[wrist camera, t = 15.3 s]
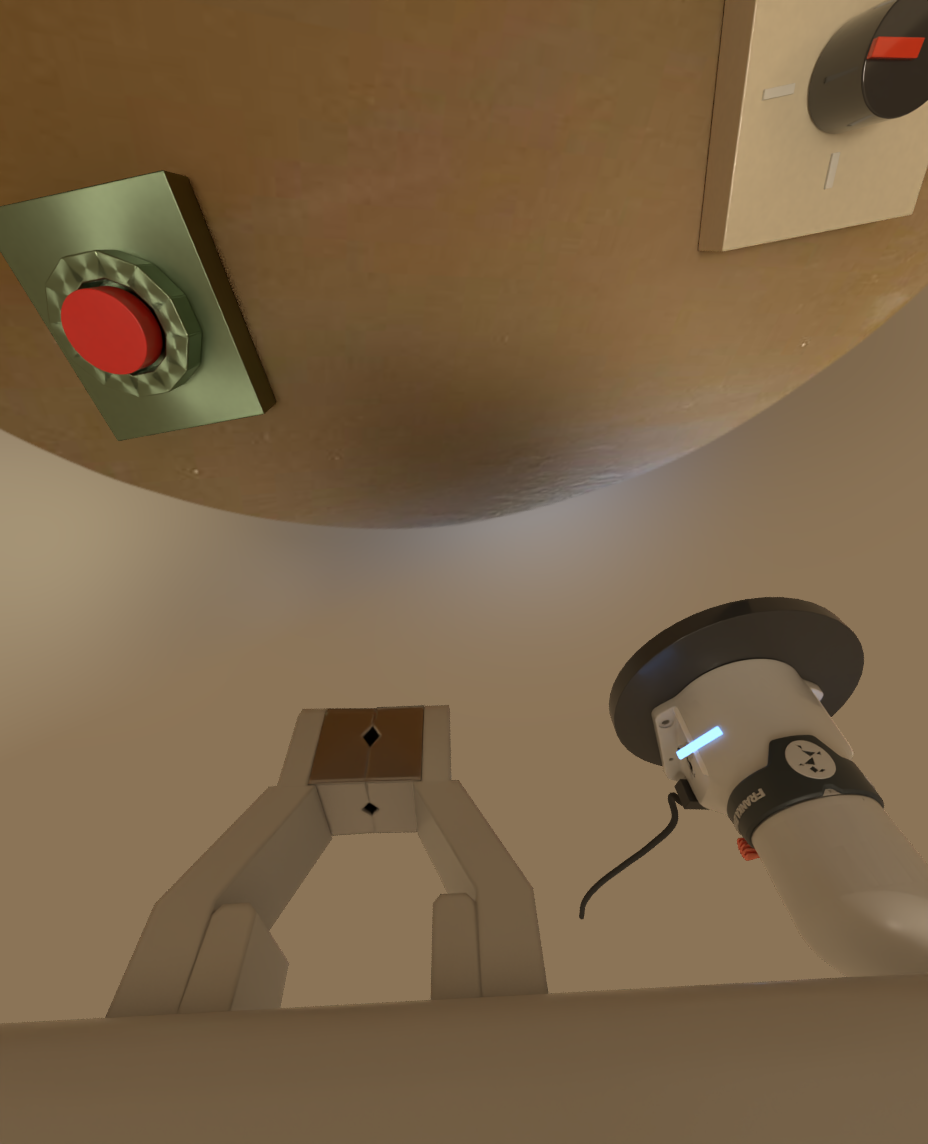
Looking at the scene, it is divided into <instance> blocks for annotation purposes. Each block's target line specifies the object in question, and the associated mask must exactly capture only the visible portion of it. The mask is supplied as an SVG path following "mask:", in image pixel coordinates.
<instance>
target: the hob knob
mask: <svg viewBox="0 0 928 1144" xmlns="http://www.w3.org/2000/svg"><path fill="white" fill-rule="evenodd" d="M927 101H928V0H884V1H882V2H880V3H879V4H877V5H875V6H873V7H871V8H870V9H868V10H866V11H864V12H862V13H860V14H859V15H857V16H855V17H854V18H852V19H851V20H849V21H848V22H847V23H845V24H844V25H843V26H842V27H841V28H840V29H839V30H838V31H837V32H836V33H835V34H834V36H833V37H832V38H831V39H830V41H829V42H828V44H827V45H826V47H825V48H824V50H823V51H822V53H821V55H820V57H819V59H818V61H817V63H816V66H815V68H814V71H813V74H812V77H811V81H810V86H809V94H808V106H809V112H810V115H811V118H812V120H813V122H814V124H815V125H816V126H817V127H818V128H819V129H820V130H822V131H823V132H825V133H829V134H841V133H845V132H848V131H852V130H856V129H859V128H863V127H867V126H870V125H874V124H877V123H881V122H885V121H888V120H892V119H896V118H899V117H902V116H905V115H907V114H909V113H911V112H913V111H915V110H916V109H917V108H919V107H920V106H922V105H923V104H924V103H925V102H927Z"/></svg>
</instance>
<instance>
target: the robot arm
mask: <svg viewBox="0 0 928 1144" xmlns="http://www.w3.org/2000/svg"><path fill="white" fill-rule="evenodd" d="M822 697H823V692H822V691H821V689H820V688H819V686H818V685H816V684H815V683H812V682H809V681H806V680H803V679H802V678H801V677H800V676H799V674H798V673H797V672H796V670H795V669H794V668H793V667H791V666H790V665H788V664H786V663H784V662H781V661H777V660H772V659H749V660H742V661H737V662H733V663H730V664H726V665H723V666H721V667H718V668H716V669H713V670H711V671H709V672H707V673H705V674H703V675H702V676H700V677H698V678H697V679H695V680H694V681H693V682H691V683H690V684H689V685H688V686H686V687H685V688H684V689H683V690H682V691H681V692H680V693H679V694H678V695H676V696H675V697H674V698H672V699H670V700H668V701H666V702H664V703H662V704H660V705H659V706H657V707H656V708H654V709H653V711H652V719H653V724H654V729H655V733H656V738H657V743H658V747H659V752H660V757H661V762H662V766H663V770H664V773H665V774H666V776H667V778H669V779H671V780H676V781H678V782H677V784H676V785H675V789H676V791H677V793H678V795H677V794H676V793H670V794H669V795H668V802H669V805H670V808H671V813H672V818H671V821H670V823H669V824H668V826H667V827H666V828H665V829H664V830H663V831H662V832H661V833H660V834H659V835H658V836H657V837H655V838H654V839H653V840H652V841H651V842H649V843H648V844H647V845H646V846H645V847H643V848H642V849H641V850H640V851H638V852H637V853H635V854H634V855H632V856H631V857H630V858H628V859H627V860H625V861H624V862H623V863H621V864H620V865H619V866H618V867H616V868H615V869H613V870H612V871H610V872H609V873H608V874H606V875H605V876H604V877H602V878H601V879H600V880H599V881H598V882H597V883H596V884H595V885H594V886H593V887H592V888H591V889H590V890H589V891H588V892H587V893H586V895H585V896H584V898H583V900H582V902H581V906H580V915H579V917H580V919H583V918H584V911H585V906H586V904H587V902H588V900H589V899H590V898H591V896H592V895H593V894H594V893H595V892H596V891H597V890H598V889H599V888H600V887H601V886H602V885H603V884H605V883H606V882H607V881H608V880H609V879H611V878H612V877H614V876H615V875H616V874H618V873H619V872H621V871H622V870H624V869H625V868H626V867H628V866H629V865H630V864H632V863H633V862H635V861H636V860H638V859H639V858H641V857H642V856H643V855H645V854H646V853H647V852H649V851H650V850H651V849H652V848H654V847H655V846H656V845H657V844H658V843H660V842H661V841H662V840H663V839H665V838H666V837H667V836H668V835H669V834H670V833H671V832H672V831H673V829H674V828H675V826H676V824H677V821H678V810H677V807H676V803H675V801H676V802H677V803H678V804H680V805H681V806H683V807H684V809H707V810H714V811H716V812H719V813H722V814H725V815H727V816H728V817H729V818H730V820H731V821H732V822H733V824H734V826H735V828H736V830H737V831H738V832H739V834H740V835H742V836H743V838H738V839H737V844H738V848H739V850H740V853H741V854H742V857H743V858H745V860H746V861H749V860H753V859H755V858H760V859H761V861H762V863H763V865H764V867H765V869H766V871H767V873H768V875H769V876H770V878H771V880H772V882H773V884H774V886H775V888H776V890H777V892H778V894H779V896H780V898H781V899H782V901H783V903H784V905H785V907H786V909H787V911H788V912H789V915H790V916H791V918H792V920H793V922H794V924H795V926H796V928H797V930H798V932H799V934H800V935H801V936H802V938H803V939H804V941H805V942H806V943H807V945H808V946H809V947H810V948H811V949H812V950H813V951H814V952H815V953H816V954H817V955H818V956H819V957H820V958H821V959H822V960H824V961H825V962H826V963H827V964H829V965H830V966H832V967H833V968H834V969H836V970H838V971H839V972H840V973H842V974H843V975H845V976H846V977H842V978H826V979H825V978H824V979H808V980H789V981H771V982H752V983H735V984H734V983H733V984H716V985H696V986H679V987H660V988H642V989H623V990H606V991H587V992H568V993H551V994H548V988H547V982H546V975H545V968H544V961H543V954H542V947H541V941H540V933H539V927H538V920H537V913H536V906H535V899H534V893H533V887H532V886H531V885H530V883H529V882H528V880H527V879H526V877H525V876H524V874H523V873H522V871H521V870H520V869H519V867H518V866H517V864H516V863H515V861H514V860H513V858H512V857H511V856H510V854H509V853H508V851H507V850H506V848H505V847H504V845H503V844H502V842H501V841H500V840H499V838H498V837H497V835H496V834H495V832H494V831H493V829H492V828H491V826H490V825H489V824H488V822H487V821H486V819H485V818H484V817H483V815H482V813H481V812H480V810H479V809H478V808H477V806H476V805H475V804H474V802H473V800H472V799H471V797H470V796H469V795H468V793H467V792H466V790H465V789H464V787H463V786H462V784H461V783H460V781H459V780H451V748H450V709H449V705H441V706H425V707H424V706H423V705H421V706H398V707H377V708H370V709H369V708H368V709H367V708H364V709H363V708H360V709H356V708H354V709H351V708H349V709H303V710H302V711H301V713H300V714H299V716H298V718H297V722H296V725H295V728H294V732H293V735H292V738H291V741H290V745H289V748H288V751H287V755H286V758H285V761H284V765H283V768H282V771H281V774H280V778H279V781H278V785H277V786H274V787H268V789H266V790H265V792H263V794H262V795H261V796H260V797H259V798H258V799H257V800H256V801H255V802H254V803H253V804H252V805H251V806H250V807H249V808H248V809H247V810H246V811H245V812H244V813H243V814H242V815H241V816H240V817H239V818H238V819H237V820H236V821H235V822H234V824H232V825H231V827H230V828H228V829H227V831H225V832H224V833H223V835H222V836H221V837H220V838H219V839H218V840H217V841H216V842H215V843H214V844H213V845H212V846H211V847H210V848H209V849H208V850H207V851H206V852H205V853H204V854H203V855H202V856H201V857H200V858H199V859H198V860H197V861H196V862H195V863H194V864H193V866H191V867H190V868H189V869H188V870H187V871H186V873H184V874H183V876H182V877H181V878H180V879H179V880H178V881H177V882H176V883H175V884H174V885H173V886H172V887H171V888H170V889H169V890H168V891H167V892H166V893H165V894H164V895H163V896H162V897H161V898H160V899H159V900H158V901H157V902H156V903H155V905H154V907H153V909H152V912H151V914H150V916H149V918H148V921H147V923H146V926H145V928H144V930H143V932H142V935H141V937H140V939H139V941H138V944H137V946H136V949H135V951H134V953H133V955H132V957H131V960H130V962H129V964H128V967H127V969H126V971H125V973H124V976H123V978H122V980H121V983H120V985H119V987H118V990H117V992H116V994H115V996H114V999H113V1001H112V1003H111V1006H110V1008H109V1010H108V1013H107V1015H106V1017H105V1018H94V1019H77V1020H57V1021H39V1022H22V1023H2V1024H0V1144H928V864H927V863H926V862H925V860H924V859H923V858H922V857H921V856H920V854H919V853H918V852H917V851H916V849H915V848H914V847H913V846H912V844H911V843H910V842H909V841H908V839H907V838H906V837H905V836H904V834H903V833H902V832H901V831H900V829H899V828H898V827H897V826H896V824H895V823H894V822H893V821H892V819H891V818H890V817H889V816H888V814H887V813H886V812H885V811H884V809H883V808H884V803H883V800H882V798H881V797H880V796H879V795H878V793H877V792H876V790H875V788H874V786H873V784H872V783H871V782H870V780H869V779H868V778H867V777H866V776H864V775H863V773H862V772H861V771H860V770H859V768H858V767H857V766H856V765H855V764H854V763H853V762H852V761H851V760H852V756H853V750H852V748H851V746H850V745H849V743H848V742H847V740H846V739H845V737H844V736H843V734H842V733H841V731H840V730H839V728H838V727H837V726H836V724H835V723H834V721H833V720H832V718H831V717H830V715H829V714H828V713H827V711H826V710H825V708H824V707H823V705H822V704H821V702H820V700H821V699H822ZM375 832H376V833H393V832H395V833H401V832H418V835H419V837H420V839H421V841H422V843H423V845H424V847H425V849H426V851H427V853H428V855H429V857H430V859H431V861H432V863H433V865H434V867H435V869H436V871H437V873H438V875H439V877H440V879H441V881H442V883H443V885H444V887H445V889H446V891H447V893H448V894H440V896H439V897H438V898H437V900H436V901H435V902H434V903H433V926H432V928H433V929H432V968H431V1000H424V1001H423V1000H422V1001H405V1002H386V1003H368V1004H350V1005H331V1006H315V1007H314V1006H313V1007H295V1008H280V1006H281V1001H282V995H283V990H284V985H285V980H286V975H287V969H288V965H289V963H288V961H287V959H286V957H285V955H284V954H283V952H282V951H281V949H280V948H279V946H278V944H277V943H276V941H275V940H274V938H273V937H272V935H271V934H270V932H269V930H270V929H271V927H272V926H273V924H274V923H275V922H276V920H277V919H278V917H279V915H280V914H281V913H282V911H283V910H284V908H285V907H286V905H287V904H288V902H289V901H290V900H291V898H292V897H293V895H294V894H295V892H296V891H297V889H298V888H299V886H300V885H301V883H302V882H303V880H304V879H305V878H306V876H307V875H308V873H309V872H310V870H311V869H312V867H313V866H314V864H315V863H316V862H317V860H318V859H319V857H320V855H321V854H322V853H323V851H324V850H325V848H326V847H327V845H328V844H329V843H330V841H331V840H332V836H334V835H350V834H364V833H375Z"/></svg>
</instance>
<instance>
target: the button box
mask: <svg viewBox="0 0 928 1144" xmlns="http://www.w3.org/2000/svg"><path fill="white" fill-rule="evenodd" d="M0 252H1V253H2V255H3V256H4V258H5V260H6V261H7V263H8V264H9V266H10V268H11V269H12V271H13V272H14V274H15V276H16V277H17V279H18V281H19V282H20V284H21V285H22V287H23V289H24V290H25V292H26V293H27V295H28V297H29V298H30V300H31V302H32V303H33V305H34V306H35V308H36V310H37V311H38V313H39V314H40V316H41V318H42V319H43V321H44V323H45V324H46V326H47V327H48V329H49V331H50V332H51V334H52V335H53V337H54V339H55V340H56V342H57V344H58V345H59V347H60V348H61V350H62V352H63V353H64V355H65V356H66V358H67V360H68V361H69V363H70V364H71V366H72V368H73V369H74V371H75V373H76V374H77V376H78V377H79V379H80V381H81V382H82V384H83V385H84V387H85V389H86V390H87V392H88V394H89V395H90V397H91V398H92V400H93V402H94V403H95V405H96V406H97V408H98V410H99V411H100V413H101V415H102V416H103V418H104V419H105V421H106V423H107V424H108V426H109V427H110V429H111V431H112V432H113V434H114V436H115V437H116V439H117V440H118V441H121V440H127V439H132V438H137V437H143V436H148V435H154V434H159V433H164V432H170V431H175V430H180V429H186V428H191V427H197V426H202V425H207V424H213V423H218V422H224V421H229V420H234V419H240V418H245V417H250V416H256V415H261V414H265V413H266V412H267V411H268V410H269V409H270V408H271V407H272V406H273V405H274V404H275V403H276V400H275V398H274V395H273V393H272V390H271V388H270V385H269V383H268V380H267V377H266V375H265V372H264V370H263V367H262V365H261V362H260V360H259V357H258V355H257V352H256V350H255V347H254V344H253V342H252V339H251V337H250V334H249V332H248V329H247V327H246V324H245V322H244V319H243V317H242V314H241V311H240V309H239V306H238V304H237V301H236V299H235V296H234V294H233V291H232V289H231V286H230V283H229V281H228V278H227V276H226V273H225V271H224V268H223V266H222V263H221V261H220V258H219V256H218V253H217V250H216V248H215V245H214V243H213V240H212V238H211V235H210V233H209V230H208V228H207V225H206V223H205V220H204V217H203V215H202V212H201V210H200V207H199V205H198V202H197V200H196V197H195V195H194V192H193V190H192V187H191V184H190V182H189V179H188V177H186V176H182V175H179V174H175V173H171V172H167V171H164V170H162V171H157V172H153V173H148V174H144V175H139V176H135V177H130V178H126V179H121V180H117V181H112V182H108V183H103V184H99V185H94V186H90V187H85V188H81V189H76V190H72V191H67V192H63V193H58V194H54V195H49V196H45V197H40V198H36V199H31V200H27V201H22V202H18V203H13V204H9V205H4V206H0ZM100 286H113V287H117V288H120V289H123V290H125V291H127V292H129V293H131V294H133V295H134V296H135V297H137V298H138V299H139V300H141V301H142V302H143V303H144V304H145V305H146V306H147V307H148V308H149V310H150V311H151V312H152V314H153V315H154V317H155V318H156V320H157V322H158V324H159V327H160V330H161V333H162V340H163V345H162V351H161V354H160V356H159V358H158V359H157V360H156V361H155V362H154V363H153V364H152V365H150V366H147V367H145V368H143V369H140V370H138V371H135V372H133V373H130V374H124V375H119V374H112V373H109V372H106V371H103V370H101V369H99V368H97V367H95V366H93V365H92V364H90V363H89V362H88V361H86V360H85V359H84V358H83V357H82V356H81V355H80V354H79V353H78V352H77V351H76V350H75V349H74V347H73V346H72V345H71V343H70V342H69V340H68V338H67V336H66V334H65V332H64V329H63V326H62V321H61V308H62V305H63V302H64V300H65V299H66V297H67V296H68V295H69V294H70V293H72V292H74V291H76V290H79V289H84V288H92V287H100Z"/></svg>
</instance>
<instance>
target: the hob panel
mask: <svg viewBox="0 0 928 1144" xmlns="http://www.w3.org/2000/svg"><path fill="white" fill-rule="evenodd" d="M882 1H884V0H725V7H724V17H723V26H722V35H721V44H720V54H719V63H718V72H717V81H716V90H715V100H714V109H713V118H712V127H711V137H710V146H709V155H708V164H707V174H706V183H705V192H704V201H703V210H702V220H701V229H700V238H699V247H698V251H717V252H724V251H729V250H734V249H739V248H744V247H750V246H755V245H760V244H765V243H770V242H775V241H780V240H785V239H790V238H796V237H801V236H806V235H811V234H816V233H821V232H826V231H831V230H836V229H842V228H847V227H852V226H857V225H862V224H867V223H872V222H877V221H882V220H888V219H893V218H898V217H903V216H908V215H911V214H912V213H913V210H914V207H915V204H916V201H917V198H918V194H919V191H920V188H921V185H922V182H923V179H924V176H925V173H926V169H927V166H928V101H927V102H925V103H924V104H923V105H922V106H920V107H919V108H917V109H916V110H915V111H913V112H911V113H909V114H907V115H905V116H902V117H899V118H896V119H892V120H888V121H885V122H881V123H877V124H874V125H870V126H867V127H863V128H859V129H856V130H852V131H848V132H845V133H841V134H829V133H825V132H823V131H822V130H820V129H819V128H818V127H817V126H816V125H815V124H814V122H813V120H812V118H811V115H810V112H809V106H808V94H809V86H810V81H811V77H812V74H813V71H814V68H815V66H816V63H817V61H818V59H819V57H820V55H821V53H822V51H823V50H824V48H825V47H826V45H827V44H828V42H829V41H830V39H831V38H832V37H833V36H834V34H835V33H836V32H837V31H838V30H839V29H840V28H841V27H842V26H843V25H844V24H845V23H847V22H848V21H849V20H851V19H852V18H854V17H855V16H857V15H859V14H860V13H862V12H864V11H866V10H868V9H870V8H871V7H873V6H875V5H877V4H879V3H880V2H882Z"/></svg>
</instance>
